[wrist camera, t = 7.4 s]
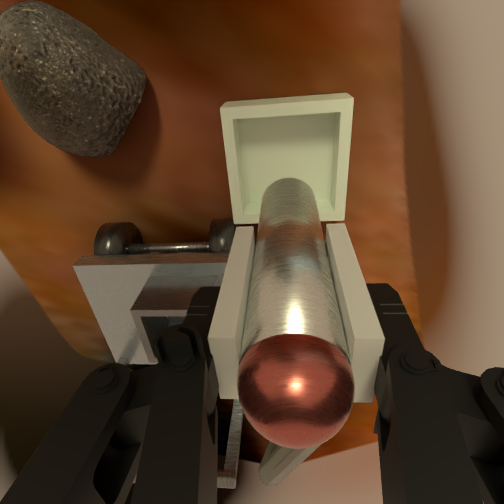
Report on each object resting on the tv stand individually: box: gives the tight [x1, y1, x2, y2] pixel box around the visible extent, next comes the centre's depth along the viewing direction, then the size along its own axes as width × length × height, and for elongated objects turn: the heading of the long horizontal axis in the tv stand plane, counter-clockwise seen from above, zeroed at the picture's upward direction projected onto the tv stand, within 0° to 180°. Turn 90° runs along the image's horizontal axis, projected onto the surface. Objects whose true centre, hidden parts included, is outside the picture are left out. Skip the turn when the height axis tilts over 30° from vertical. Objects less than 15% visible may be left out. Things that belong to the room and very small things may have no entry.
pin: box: [237, 178, 355, 449], centre depth 14 cm, size 3×3×14 cm
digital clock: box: [258, 441, 321, 486], centre depth 37 cm, size 16×9×11 cm, turn 146°
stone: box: [0, 0, 146, 157], centre depth 23 cm, size 10×8×10 cm
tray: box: [220, 93, 354, 224], centre depth 26 cm, size 9×9×3 cm
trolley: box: [73, 219, 243, 489], centre depth 27 cm, size 15×14×17 cm
